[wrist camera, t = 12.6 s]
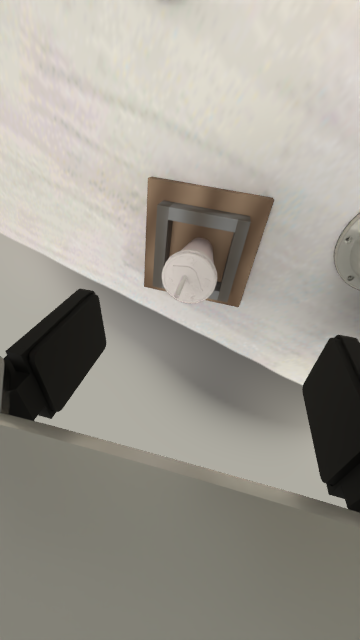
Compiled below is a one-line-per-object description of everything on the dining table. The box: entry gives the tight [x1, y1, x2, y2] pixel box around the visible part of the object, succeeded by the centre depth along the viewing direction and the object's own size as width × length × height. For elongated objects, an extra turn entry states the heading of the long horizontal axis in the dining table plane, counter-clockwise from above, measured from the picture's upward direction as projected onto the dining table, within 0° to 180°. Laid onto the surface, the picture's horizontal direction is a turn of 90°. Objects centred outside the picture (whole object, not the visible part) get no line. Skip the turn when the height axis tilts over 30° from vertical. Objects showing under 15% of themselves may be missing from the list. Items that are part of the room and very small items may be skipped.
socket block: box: [144, 177, 274, 307], centre depth 34 cm, size 16×16×4 cm
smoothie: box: [162, 238, 217, 304], centre depth 29 cm, size 6×6×14 cm
